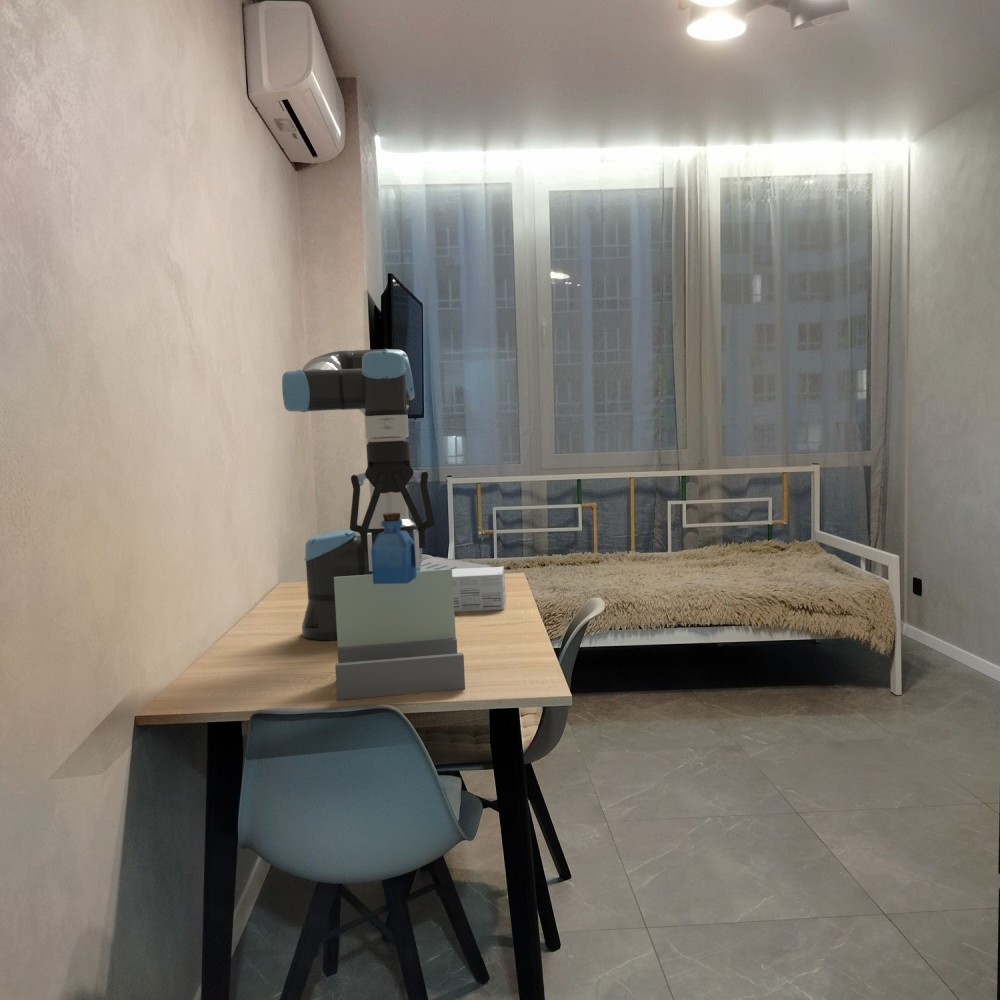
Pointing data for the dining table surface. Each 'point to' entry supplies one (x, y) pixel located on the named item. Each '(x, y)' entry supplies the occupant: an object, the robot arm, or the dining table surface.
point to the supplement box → (478, 589)
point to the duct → (399, 669)
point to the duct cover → (394, 609)
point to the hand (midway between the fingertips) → (394, 568)
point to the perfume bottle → (393, 553)
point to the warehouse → (448, 564)
